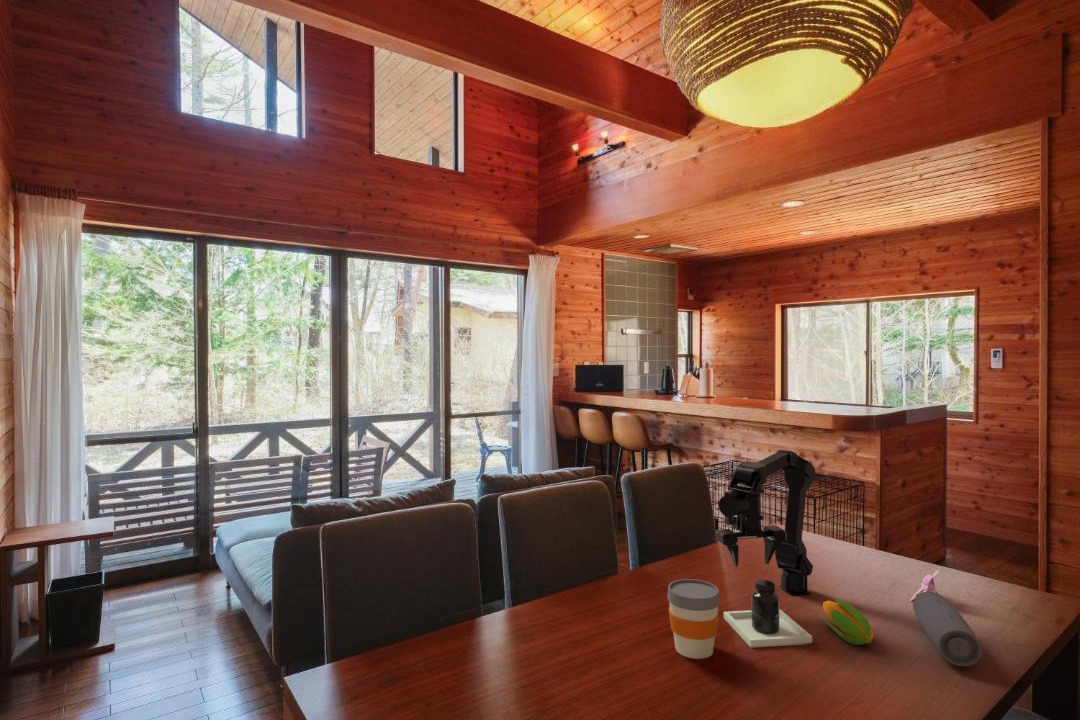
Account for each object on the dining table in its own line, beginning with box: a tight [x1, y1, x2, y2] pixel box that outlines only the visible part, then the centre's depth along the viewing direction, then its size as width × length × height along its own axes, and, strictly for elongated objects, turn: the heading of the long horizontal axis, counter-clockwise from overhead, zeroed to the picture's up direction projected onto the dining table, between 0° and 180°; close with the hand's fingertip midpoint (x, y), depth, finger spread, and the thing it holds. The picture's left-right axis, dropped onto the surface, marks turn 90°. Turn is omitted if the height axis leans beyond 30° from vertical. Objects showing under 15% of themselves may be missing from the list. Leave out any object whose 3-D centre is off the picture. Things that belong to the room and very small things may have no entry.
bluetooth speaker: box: [912, 591, 983, 667], centre depth 140 cm, size 23×9×10 cm, turn 160°
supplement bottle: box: [750, 579, 780, 634], centre depth 151 cm, size 7×7×12 cm
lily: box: [910, 568, 940, 601], centre depth 167 cm, size 12×12×10 cm
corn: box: [819, 598, 875, 646], centre depth 149 cm, size 7×8×20 cm
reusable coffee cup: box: [666, 578, 721, 660], centre depth 141 cm, size 13×13×15 cm
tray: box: [723, 608, 813, 649], centre depth 151 cm, size 16×16×2 cm
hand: (751, 565), depth 163 cm, fingers open, 9 cm apart
